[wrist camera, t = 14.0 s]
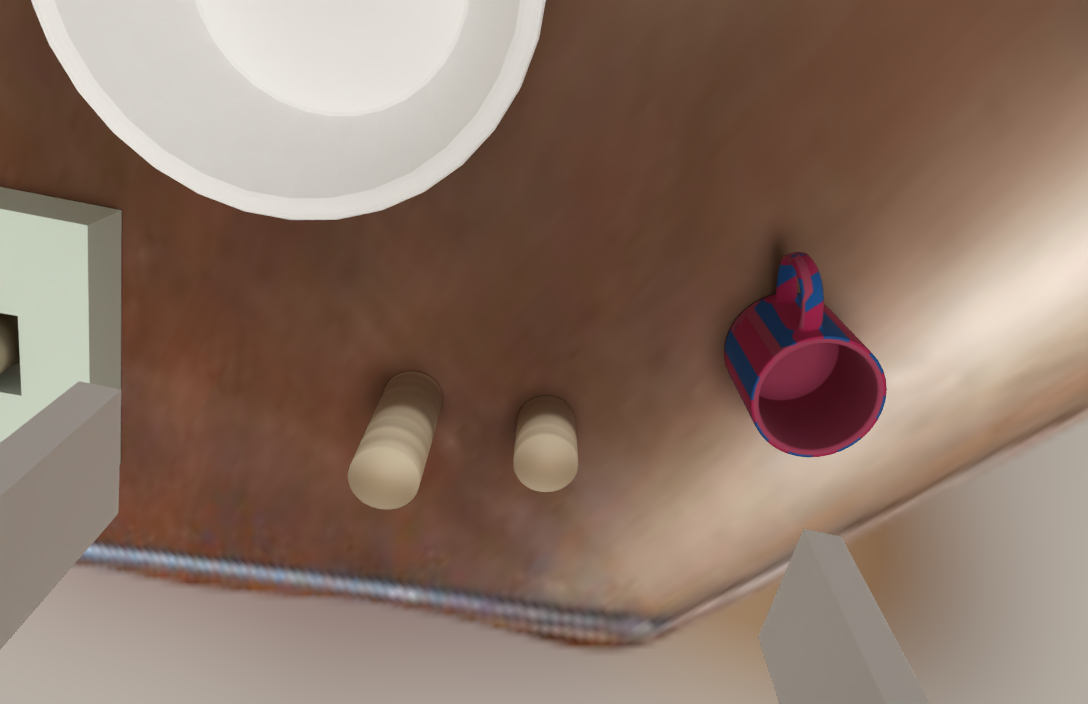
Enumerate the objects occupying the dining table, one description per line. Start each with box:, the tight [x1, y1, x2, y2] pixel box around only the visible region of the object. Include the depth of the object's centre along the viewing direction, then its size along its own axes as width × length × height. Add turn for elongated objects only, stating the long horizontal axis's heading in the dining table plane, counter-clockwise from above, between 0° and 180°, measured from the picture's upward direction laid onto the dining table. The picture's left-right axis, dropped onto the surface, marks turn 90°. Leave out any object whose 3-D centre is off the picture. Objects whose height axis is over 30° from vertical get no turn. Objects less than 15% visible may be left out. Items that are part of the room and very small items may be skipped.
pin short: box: [514, 395, 578, 492], centre depth 46 cm, size 4×4×5 cm
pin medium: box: [348, 371, 443, 509], centre depth 44 cm, size 4×4×9 cm
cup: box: [724, 252, 887, 457], centre depth 43 cm, size 7×10×7 cm
